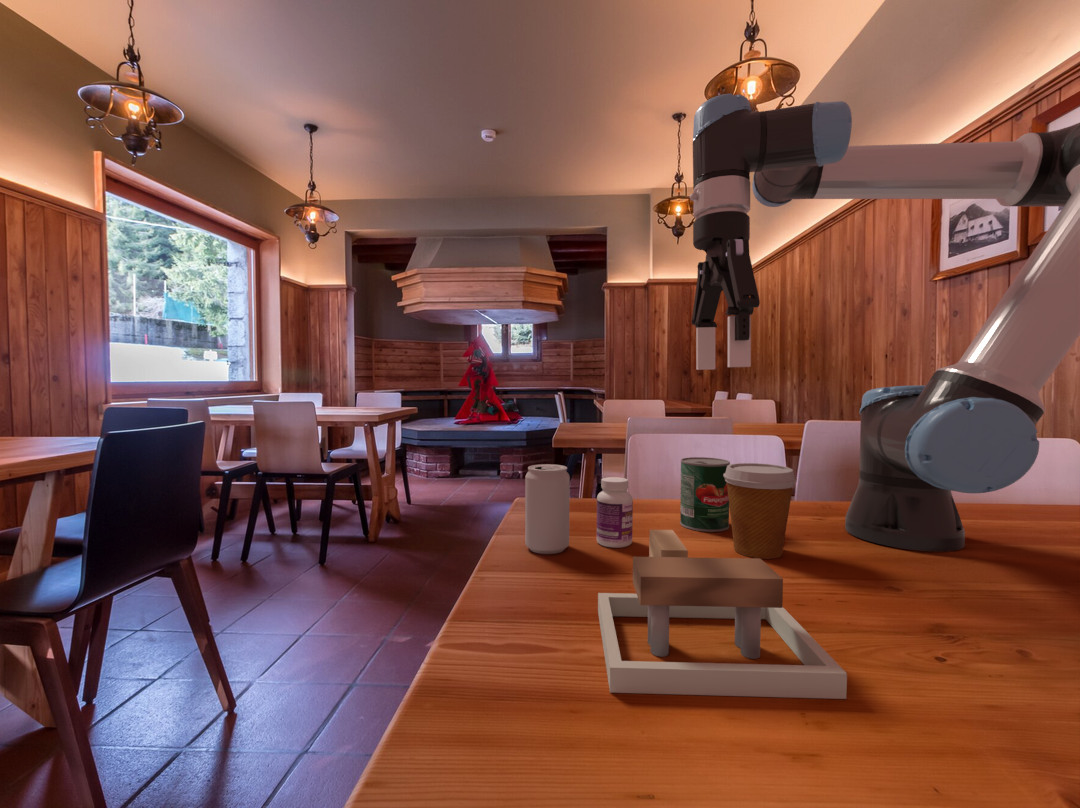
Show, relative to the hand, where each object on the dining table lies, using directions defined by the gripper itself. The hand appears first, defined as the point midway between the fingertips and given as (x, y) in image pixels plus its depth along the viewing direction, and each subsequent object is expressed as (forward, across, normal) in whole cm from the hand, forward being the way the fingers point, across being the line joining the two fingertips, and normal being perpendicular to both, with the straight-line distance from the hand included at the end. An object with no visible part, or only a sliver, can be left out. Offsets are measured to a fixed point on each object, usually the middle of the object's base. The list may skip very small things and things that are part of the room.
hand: (720, 368), depth 73 cm
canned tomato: (+26, -12, +1) cm, 29 cm away
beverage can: (+26, 0, -25) cm, 36 cm away
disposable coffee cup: (+26, +1, +5) cm, 27 cm away
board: (+21, +27, -11) cm, 36 cm away
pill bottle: (+26, -3, -15) cm, 30 cm away
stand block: (+26, +12, -10) cm, 30 cm away
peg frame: (+26, +27, -11) cm, 39 cm away
